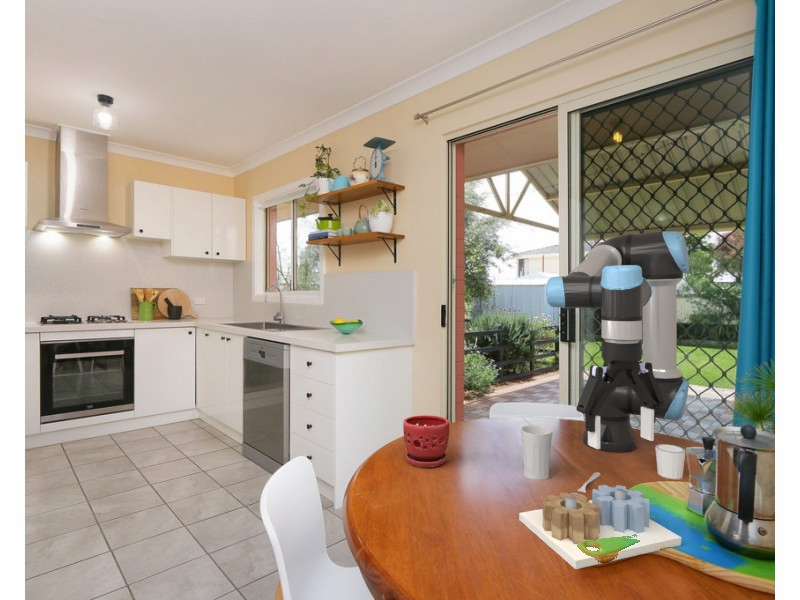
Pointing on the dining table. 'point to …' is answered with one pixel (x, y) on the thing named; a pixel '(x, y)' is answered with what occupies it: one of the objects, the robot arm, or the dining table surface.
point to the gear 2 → (622, 509)
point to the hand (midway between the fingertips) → (621, 442)
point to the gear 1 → (571, 518)
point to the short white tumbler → (670, 461)
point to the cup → (536, 451)
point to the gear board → (577, 559)
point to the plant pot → (426, 440)
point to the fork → (586, 484)
